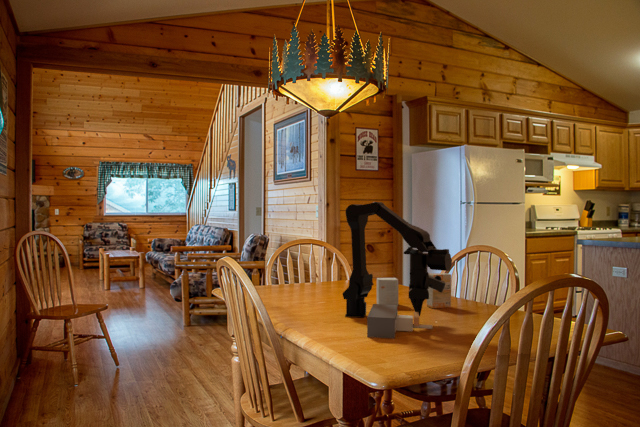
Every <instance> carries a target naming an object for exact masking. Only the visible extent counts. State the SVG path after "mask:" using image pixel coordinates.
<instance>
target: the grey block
mask: <svg viewBox="0 0 640 427" xmlns="http://www.w3.org/2000/svg"><path fill="white" fill-rule="evenodd" d="M398 312H399V311H398V306H397V305H387V304H377V303H373V304H372V306H371V308H370V309H369V313H368V315H367V317H366V318H367V322H366V323H367V326H366V329H367V330H366V331H367V332H366V334H367V335H366V338H375V339H377V338H378V339H379V338H380V339H395V338H396V332H397V331H396V317H397V315H399V314H398Z"/></svg>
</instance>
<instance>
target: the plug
mask: <svg viewBox="0 0 640 427" xmlns="http://www.w3.org/2000/svg"><path fill="white" fill-rule="evenodd" d="M433 326H434V325H433V324H423V323H422V324H421V323H419V326H414V315H408V314H406V315H404V314H398V315H397V317H396V332H413V331H414V329H425V330H428V329H429V330H434V329H433Z"/></svg>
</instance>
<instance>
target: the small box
mask: <svg viewBox="0 0 640 427" xmlns="http://www.w3.org/2000/svg"><path fill="white" fill-rule="evenodd" d="M376 304H387V305H397V307H398V306H399V279H398V278H397V277H376Z"/></svg>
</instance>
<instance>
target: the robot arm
mask: <svg viewBox="0 0 640 427" xmlns="http://www.w3.org/2000/svg"><path fill="white" fill-rule="evenodd" d="M374 215H375V216H377V217H379V218H380V219H381V220H382V221H384V222H385V223H387V225H389V226H390V227H392V228H393V229H394V231H395V230H396V232H398V233H399V234H400V235H401V237H402V239H403V241H405V242H406V244H407V245H408V248H407V249H406V250H405V251H403V254H404V255H409V284H408V299H409V300H410V302H411V305H412V308H413V310H414V311H413V312H419V317H421V313H422V309H423V304H424V301H425V300H426V301H427V299H429V291H428V289H429V287H430V288H432V289H435V290H438V292H441V293H442V292H443V289H444V287H445V284H446V283H445V282H444V281H441V277H440V276H438V275H436V276H435V277H431V276H429V271H428V269H430V270H432V271H444V272H450V270H451V268H452V264H453V259H452V257H451V256H452V255H451V254H450V249H449V248H447V249H446V248H444V249H440V248H439V249H438V248H437V247H436V246H435V244H434V243H433V241H432V240H431V235H430V233H429V232H428V231H427V230H425V229H423V228H421V227H419V226H416V225H413V224H411V223H409V222H408V221H406V220H405V219H404V218H402V217H401V216H399V214H397V213H396V212H394V211H393V210H392V209H391V208H389V207H388V206H387V205H385V204H384V202H382V201H373V202H370V203H364V204H360V203H359V204H357V203H353V204H352V203H351V204H349V205H348V206H347V207H346V208H345V217H346V223H347V225H348V226H349V228H350V235H351V256H352V257H351V259H352V260H351V262H352V271H351V274H350V276H349V279H348V280H349V282H348V287H346V289H345V290H344V291H343V292H342V297H343V300H345V302H346V304H345V305H346V306H345V308H346V311H345V316H344V317H348V318H351V317H352V318H364V317H365V316H366V315H367V302H366V300H365V299H366V298H368V296H369V293H370V292H371V291H372V288H373V286H374V281H373V280H374V279H373V277H374V274H373V273H369V271H368V269H367V257H366V256H367V254H366V253H367V252H366V235H365V234H366V231H365V230H366V227H367V224H368V221H369V217H371V216H374Z"/></svg>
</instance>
